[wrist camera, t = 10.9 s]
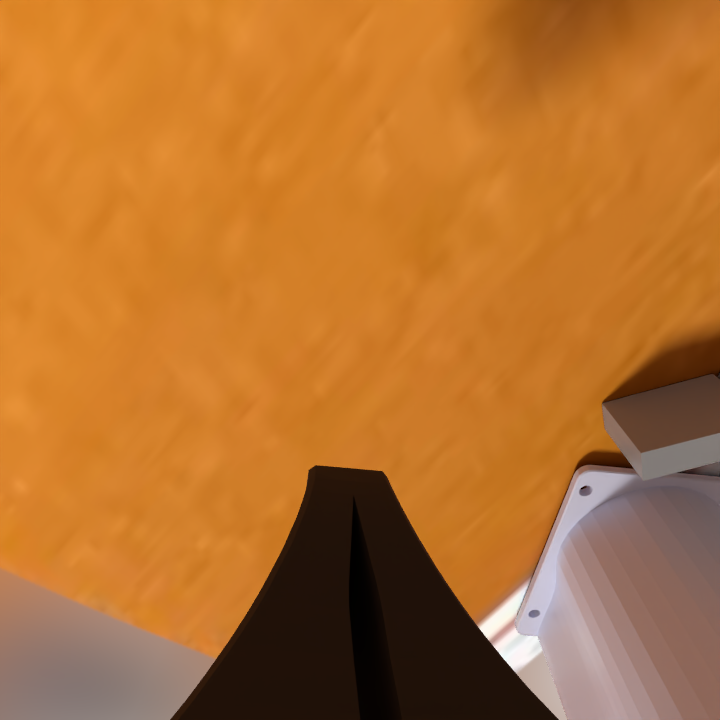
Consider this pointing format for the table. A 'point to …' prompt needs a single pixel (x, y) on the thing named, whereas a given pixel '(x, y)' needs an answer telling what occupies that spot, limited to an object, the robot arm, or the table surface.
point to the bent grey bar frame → (668, 427)
